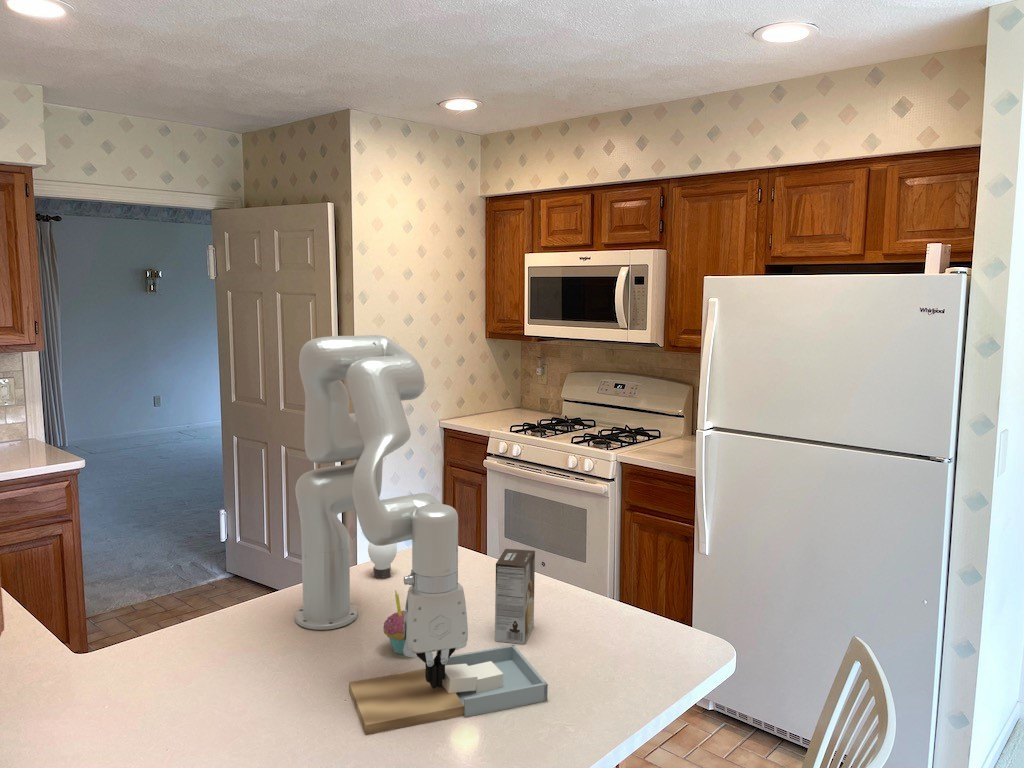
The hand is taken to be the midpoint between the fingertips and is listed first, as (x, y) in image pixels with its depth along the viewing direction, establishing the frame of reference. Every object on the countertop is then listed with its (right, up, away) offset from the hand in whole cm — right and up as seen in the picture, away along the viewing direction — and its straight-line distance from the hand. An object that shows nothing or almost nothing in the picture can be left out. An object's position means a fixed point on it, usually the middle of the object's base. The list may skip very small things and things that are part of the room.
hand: (435, 683), depth 134 cm
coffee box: (+13, 0, +25) cm, 29 cm away
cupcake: (-7, 0, +18) cm, 19 cm away
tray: (+9, -2, +4) cm, 11 cm away
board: (-5, -3, -1) cm, 6 cm away
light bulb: (-18, +5, +54) cm, 57 cm away
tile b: (+8, -2, +5) cm, 9 cm away
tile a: (+4, -1, +2) cm, 4 cm away
